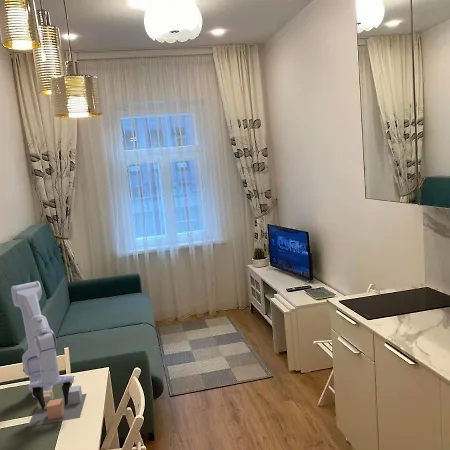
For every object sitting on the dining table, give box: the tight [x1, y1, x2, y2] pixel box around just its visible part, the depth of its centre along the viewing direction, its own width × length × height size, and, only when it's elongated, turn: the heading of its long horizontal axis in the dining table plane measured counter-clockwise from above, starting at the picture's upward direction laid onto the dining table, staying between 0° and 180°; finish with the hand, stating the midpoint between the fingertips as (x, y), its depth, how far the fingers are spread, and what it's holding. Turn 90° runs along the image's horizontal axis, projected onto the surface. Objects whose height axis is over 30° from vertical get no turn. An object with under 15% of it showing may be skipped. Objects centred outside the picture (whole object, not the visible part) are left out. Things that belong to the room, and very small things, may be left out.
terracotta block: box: [47, 397, 64, 419], centre depth 165 cm, size 4×4×4 cm
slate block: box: [68, 384, 83, 405], centre depth 174 cm, size 4×4×4 cm
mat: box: [26, 393, 87, 428], centre depth 169 cm, size 18×17×1 cm
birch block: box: [36, 389, 55, 410], centre depth 173 cm, size 4×4×4 cm
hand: (55, 405), depth 165 cm, fingers open, 7 cm apart
